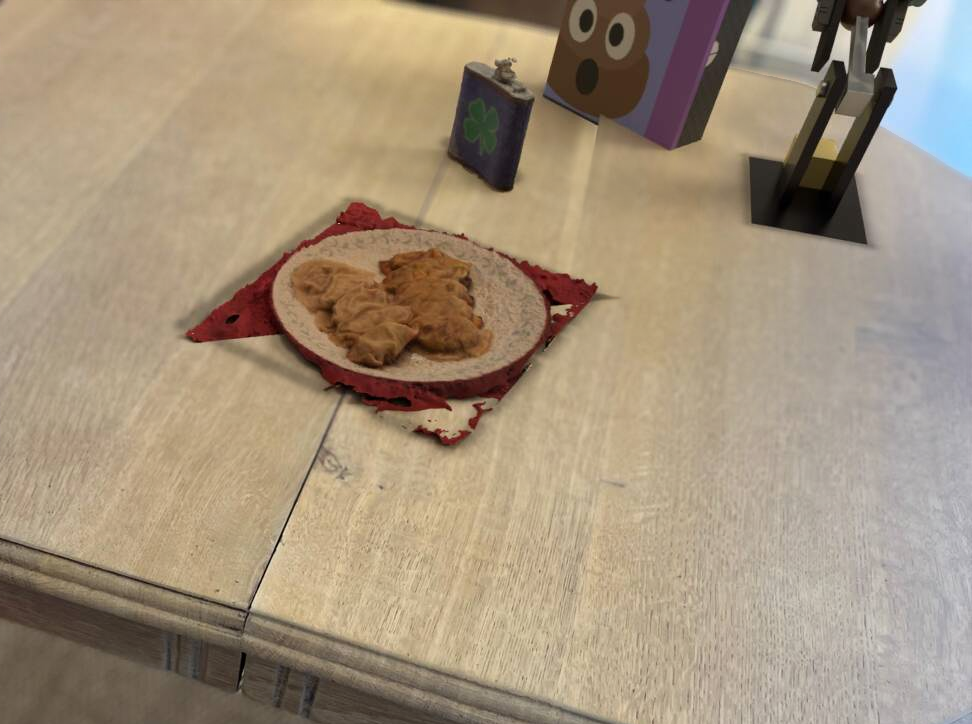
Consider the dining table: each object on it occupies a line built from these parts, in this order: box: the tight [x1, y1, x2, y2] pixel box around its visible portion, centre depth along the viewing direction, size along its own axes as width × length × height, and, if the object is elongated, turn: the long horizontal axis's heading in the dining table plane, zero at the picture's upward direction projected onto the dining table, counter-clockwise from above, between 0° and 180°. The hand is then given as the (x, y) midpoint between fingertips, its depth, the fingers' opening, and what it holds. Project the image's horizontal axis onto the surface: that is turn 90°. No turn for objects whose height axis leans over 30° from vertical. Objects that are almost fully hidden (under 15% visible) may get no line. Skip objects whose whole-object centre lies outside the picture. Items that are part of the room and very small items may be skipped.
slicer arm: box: [834, 0, 885, 118], centre depth 96 cm, size 15×4×4 cm, turn 162°
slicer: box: [748, 59, 898, 246], centre depth 96 cm, size 14×10×13 cm
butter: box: [782, 133, 838, 190], centre depth 102 cm, size 5×4×3 cm
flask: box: [446, 57, 536, 194], centre depth 100 cm, size 9×3×11 cm, turn 28°
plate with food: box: [184, 201, 599, 446], centre depth 85 cm, size 24×26×4 cm
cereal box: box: [542, 0, 755, 151], centre depth 104 cm, size 17×5×24 cm, turn 33°
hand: (844, 68), depth 98 cm, fingers closed on slicer arm, 4 cm apart
